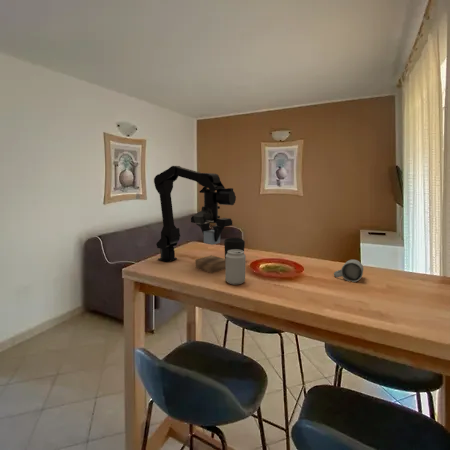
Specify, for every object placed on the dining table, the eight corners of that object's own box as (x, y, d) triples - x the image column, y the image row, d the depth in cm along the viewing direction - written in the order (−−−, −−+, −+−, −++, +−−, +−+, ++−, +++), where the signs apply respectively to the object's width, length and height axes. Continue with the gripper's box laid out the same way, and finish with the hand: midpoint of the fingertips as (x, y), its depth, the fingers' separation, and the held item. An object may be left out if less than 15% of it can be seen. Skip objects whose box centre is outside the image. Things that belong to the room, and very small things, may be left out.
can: (243, 286, 111) (244, 254, 109) (223, 284, 112) (223, 253, 110) (246, 279, 118) (247, 249, 116) (227, 277, 119) (227, 248, 117)
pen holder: (220, 261, 141) (220, 240, 139) (230, 257, 149) (231, 236, 147) (238, 264, 136) (238, 243, 134) (247, 260, 144) (248, 239, 142)
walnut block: (195, 268, 131) (195, 259, 131) (211, 263, 139) (211, 255, 138) (212, 274, 125) (212, 264, 124) (228, 268, 132) (228, 259, 131)
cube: (211, 241, 133) (211, 229, 133) (220, 242, 130) (220, 231, 129) (203, 242, 130) (203, 231, 129) (212, 244, 126) (212, 232, 126)
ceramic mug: (363, 277, 121) (364, 258, 120) (361, 283, 114) (363, 263, 113) (335, 273, 126) (336, 255, 125) (332, 279, 119) (333, 260, 118)
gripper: (181, 204, 126) (181, 240, 129) (215, 207, 115) (215, 247, 117) (199, 202, 135) (200, 236, 137) (233, 204, 123) (232, 242, 126)
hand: (211, 240), depth 129 cm, fingers closed on cube, 5 cm apart
